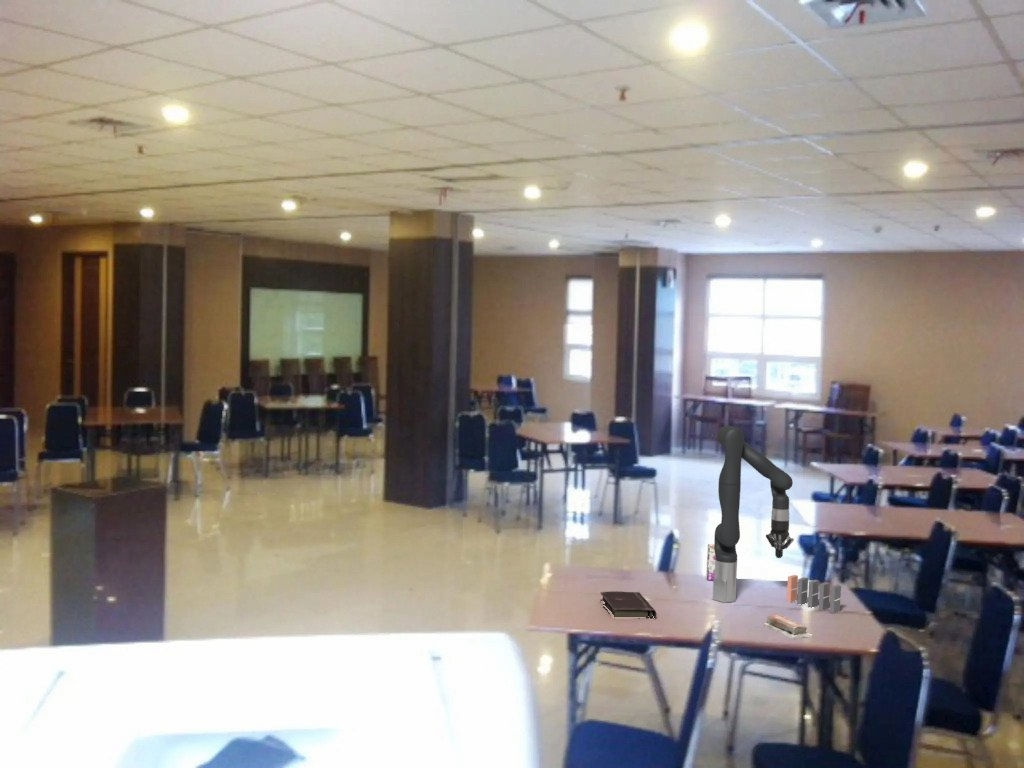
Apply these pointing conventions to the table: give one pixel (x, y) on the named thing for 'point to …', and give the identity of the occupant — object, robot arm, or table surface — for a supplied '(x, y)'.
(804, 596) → the domino
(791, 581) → the domino
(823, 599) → the domino
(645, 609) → the diary
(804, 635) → the packaged product
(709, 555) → the candy bar box
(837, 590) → the domino
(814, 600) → the domino
